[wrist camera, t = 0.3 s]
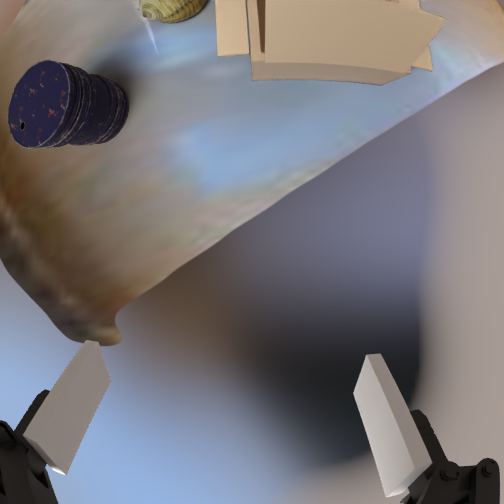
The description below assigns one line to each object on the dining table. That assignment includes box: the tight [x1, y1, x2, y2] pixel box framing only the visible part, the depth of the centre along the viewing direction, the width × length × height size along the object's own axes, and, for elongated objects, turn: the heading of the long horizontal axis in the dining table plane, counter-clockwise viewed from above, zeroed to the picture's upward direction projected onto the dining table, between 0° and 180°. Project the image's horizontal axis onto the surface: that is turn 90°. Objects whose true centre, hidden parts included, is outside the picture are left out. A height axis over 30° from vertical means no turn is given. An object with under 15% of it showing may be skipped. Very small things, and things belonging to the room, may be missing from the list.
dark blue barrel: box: [8, 60, 129, 148], centre depth 27 cm, size 10×10×15 cm
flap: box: [265, 0, 446, 73], centre depth 19 cm, size 10×15×1 cm
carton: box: [215, 0, 433, 85], centre depth 26 cm, size 15×25×9 cm, turn 93°
